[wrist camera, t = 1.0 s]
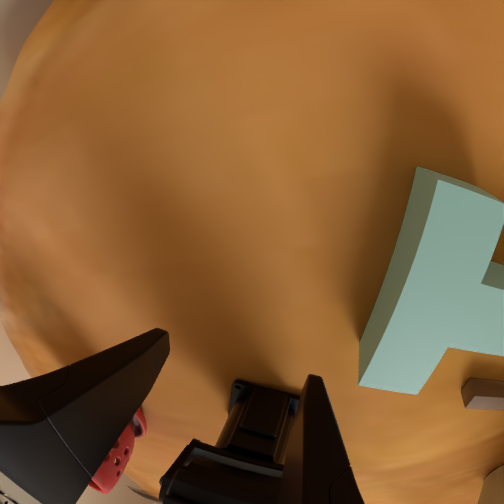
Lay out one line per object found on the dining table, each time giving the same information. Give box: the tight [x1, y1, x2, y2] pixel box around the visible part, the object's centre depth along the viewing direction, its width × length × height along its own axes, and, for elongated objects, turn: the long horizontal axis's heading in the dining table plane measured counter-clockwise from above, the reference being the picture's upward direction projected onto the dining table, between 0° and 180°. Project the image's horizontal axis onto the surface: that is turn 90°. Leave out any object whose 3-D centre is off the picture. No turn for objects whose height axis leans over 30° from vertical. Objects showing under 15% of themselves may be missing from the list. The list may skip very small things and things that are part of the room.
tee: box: [358, 166, 504, 395], centre depth 14 cm, size 12×12×4 cm
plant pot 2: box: [88, 407, 147, 494], centre depth 28 cm, size 13×13×12 cm
